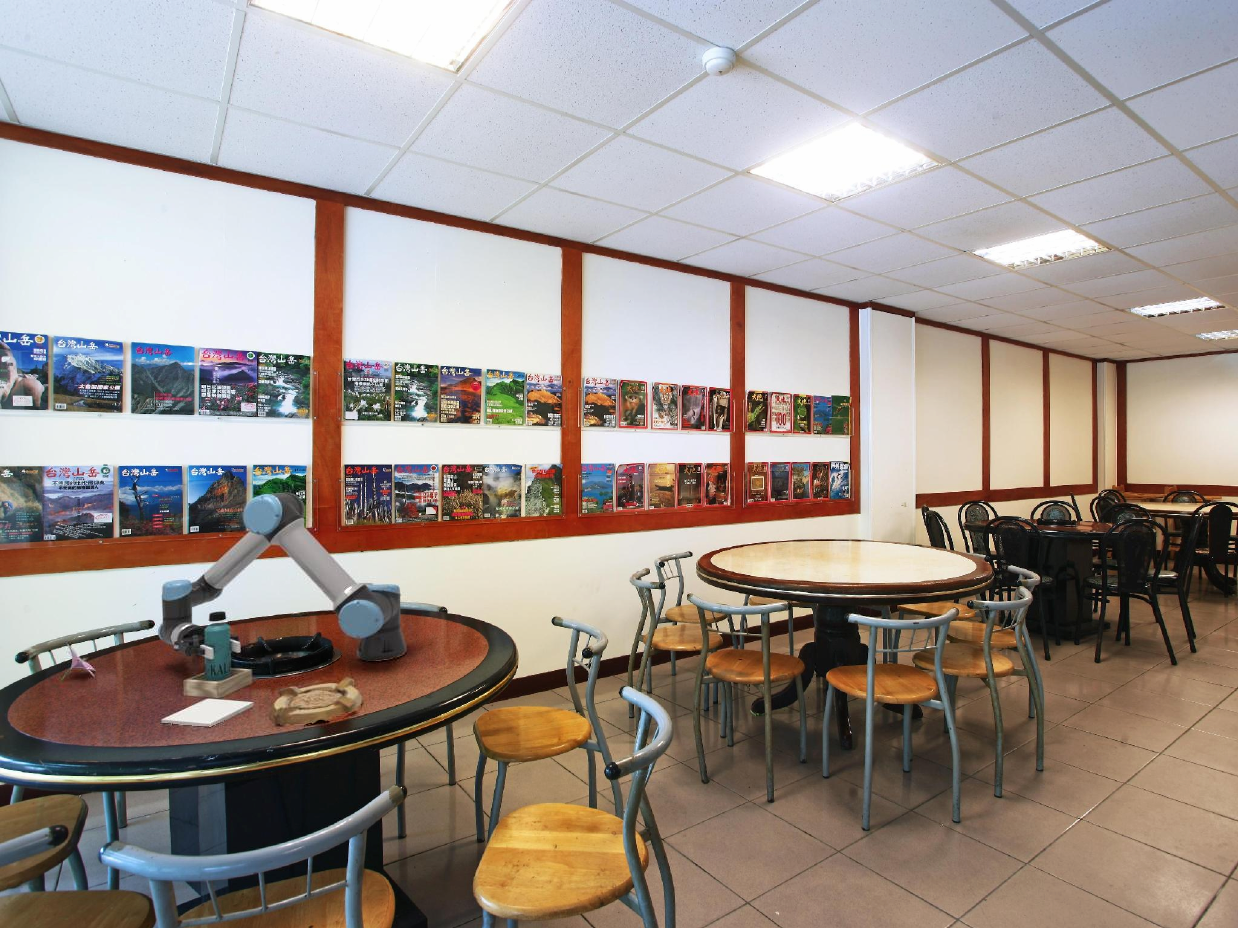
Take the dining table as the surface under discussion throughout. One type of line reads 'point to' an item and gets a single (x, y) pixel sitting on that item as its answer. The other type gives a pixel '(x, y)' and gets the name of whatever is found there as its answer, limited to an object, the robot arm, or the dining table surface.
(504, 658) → the dining table surface
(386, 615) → the robot arm
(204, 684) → the wooden tray
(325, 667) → the dining table surface
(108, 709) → the dining table surface
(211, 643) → the beverage bottle
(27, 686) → the dining table surface
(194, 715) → the rubber mat
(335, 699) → the ashtray
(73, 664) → the lily
